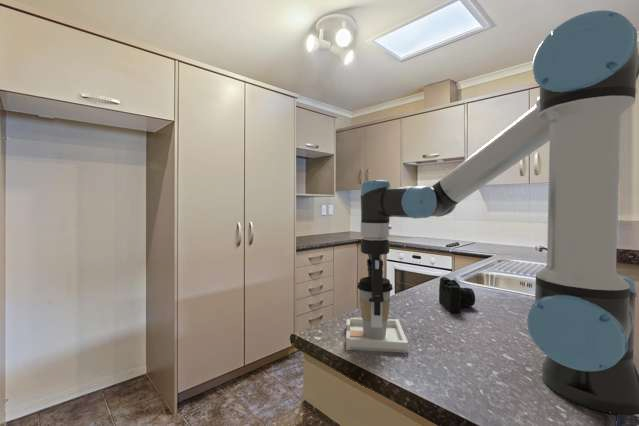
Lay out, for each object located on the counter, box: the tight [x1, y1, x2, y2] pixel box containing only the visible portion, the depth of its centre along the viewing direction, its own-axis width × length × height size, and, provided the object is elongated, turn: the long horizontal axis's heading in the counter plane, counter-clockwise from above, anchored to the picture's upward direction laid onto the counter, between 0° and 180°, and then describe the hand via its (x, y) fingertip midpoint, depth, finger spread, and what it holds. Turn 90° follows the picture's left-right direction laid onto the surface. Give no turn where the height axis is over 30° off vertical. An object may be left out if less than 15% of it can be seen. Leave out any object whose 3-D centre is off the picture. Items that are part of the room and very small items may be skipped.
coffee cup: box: [356, 276, 394, 340], centre depth 82 cm, size 9×9×15 cm
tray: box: [345, 317, 409, 354], centre depth 83 cm, size 15×15×2 cm
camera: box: [438, 276, 476, 315], centre depth 107 cm, size 14×11×10 cm
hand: (374, 317), depth 82 cm, fingers open, 13 cm apart
